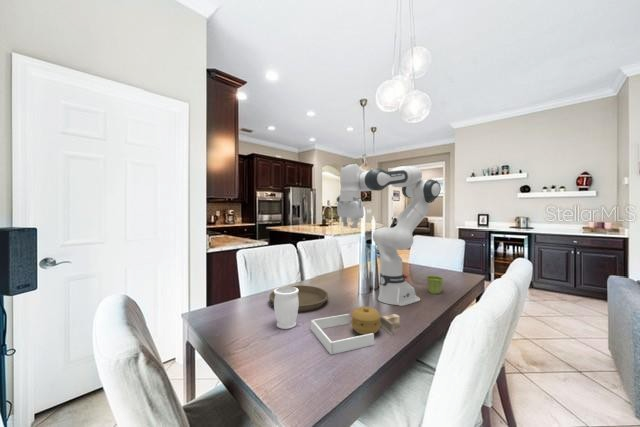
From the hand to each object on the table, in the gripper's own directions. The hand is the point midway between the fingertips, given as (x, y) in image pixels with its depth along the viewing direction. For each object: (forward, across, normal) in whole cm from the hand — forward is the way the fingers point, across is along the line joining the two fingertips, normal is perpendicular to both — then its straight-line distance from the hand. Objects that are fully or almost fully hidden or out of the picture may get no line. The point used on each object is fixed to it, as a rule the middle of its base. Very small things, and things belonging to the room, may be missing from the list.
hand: (350, 227), depth 125 cm
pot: (+41, -20, +4) cm, 46 cm away
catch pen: (+40, -20, +15) cm, 48 cm away
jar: (+40, -3, +32) cm, 52 cm away
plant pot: (+41, +8, -59) cm, 73 cm away
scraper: (+41, -20, -8) cm, 46 cm away
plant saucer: (+41, +22, +19) cm, 50 cm away
